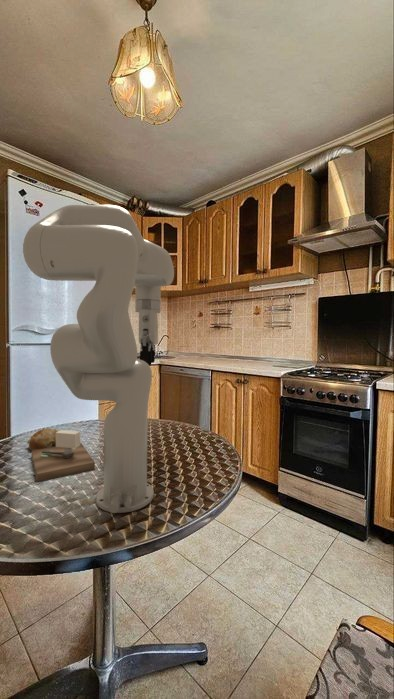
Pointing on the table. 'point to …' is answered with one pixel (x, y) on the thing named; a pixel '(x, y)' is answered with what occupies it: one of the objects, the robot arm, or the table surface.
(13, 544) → the table surface
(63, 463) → the brown wooden flat board
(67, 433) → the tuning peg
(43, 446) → the bread roll
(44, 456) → the dial marks
